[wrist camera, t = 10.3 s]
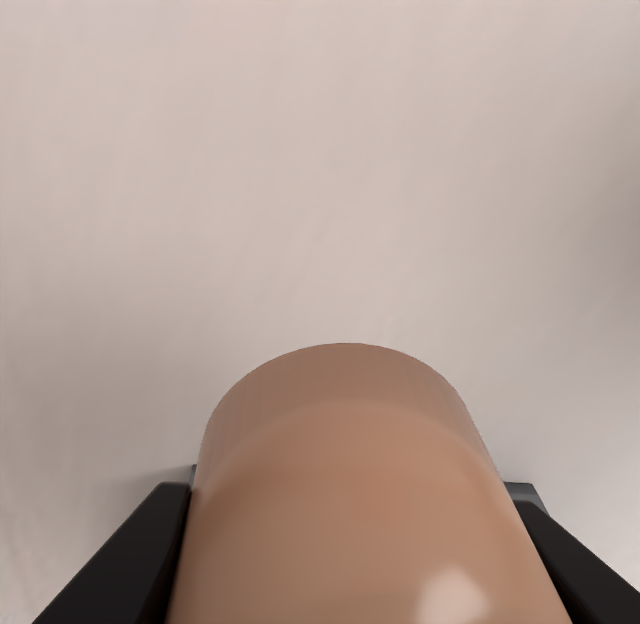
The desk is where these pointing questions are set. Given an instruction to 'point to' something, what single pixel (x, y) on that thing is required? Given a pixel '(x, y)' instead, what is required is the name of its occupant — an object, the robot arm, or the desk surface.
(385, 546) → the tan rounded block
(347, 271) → the desk surface
